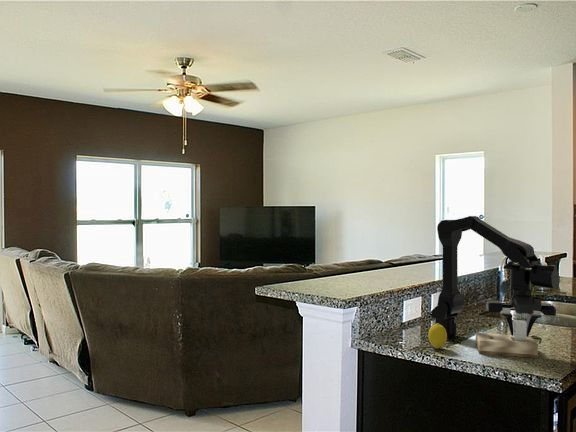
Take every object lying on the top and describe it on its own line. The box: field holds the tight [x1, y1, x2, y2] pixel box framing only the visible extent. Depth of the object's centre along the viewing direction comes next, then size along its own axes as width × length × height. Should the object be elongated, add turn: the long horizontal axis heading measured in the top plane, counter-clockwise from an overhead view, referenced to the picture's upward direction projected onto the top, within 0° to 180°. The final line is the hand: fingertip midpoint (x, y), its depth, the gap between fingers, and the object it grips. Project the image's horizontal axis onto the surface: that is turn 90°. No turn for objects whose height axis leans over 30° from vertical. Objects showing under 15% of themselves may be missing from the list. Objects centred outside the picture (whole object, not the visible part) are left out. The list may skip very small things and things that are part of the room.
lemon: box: [427, 323, 448, 350], centre depth 155 cm, size 6×6×8 cm
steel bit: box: [512, 319, 527, 342], centre depth 152 cm, size 3×3×8 cm
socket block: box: [475, 332, 539, 359], centre depth 153 cm, size 16×10×4 cm, turn 76°
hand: (519, 336), depth 152 cm, fingers open, 4 cm apart
